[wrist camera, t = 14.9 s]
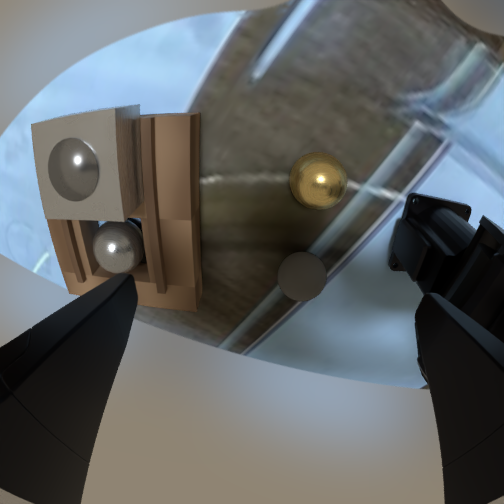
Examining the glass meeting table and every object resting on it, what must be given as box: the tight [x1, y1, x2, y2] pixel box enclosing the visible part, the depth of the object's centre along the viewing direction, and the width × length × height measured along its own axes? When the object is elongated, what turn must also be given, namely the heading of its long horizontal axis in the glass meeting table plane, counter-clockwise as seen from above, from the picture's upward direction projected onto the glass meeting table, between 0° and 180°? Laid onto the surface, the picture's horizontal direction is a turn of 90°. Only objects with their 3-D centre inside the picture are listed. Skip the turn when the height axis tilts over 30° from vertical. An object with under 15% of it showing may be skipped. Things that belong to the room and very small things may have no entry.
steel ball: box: [93, 219, 145, 274], centre depth 19 cm, size 4×4×4 cm
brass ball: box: [289, 152, 347, 210], centre depth 16 cm, size 4×4×4 cm
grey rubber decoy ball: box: [277, 252, 327, 301], centre depth 20 cm, size 4×4×4 cm
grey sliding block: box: [31, 104, 144, 222], centre depth 14 cm, size 6×6×3 cm
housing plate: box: [47, 113, 203, 312], centre depth 19 cm, size 12×14×3 cm
